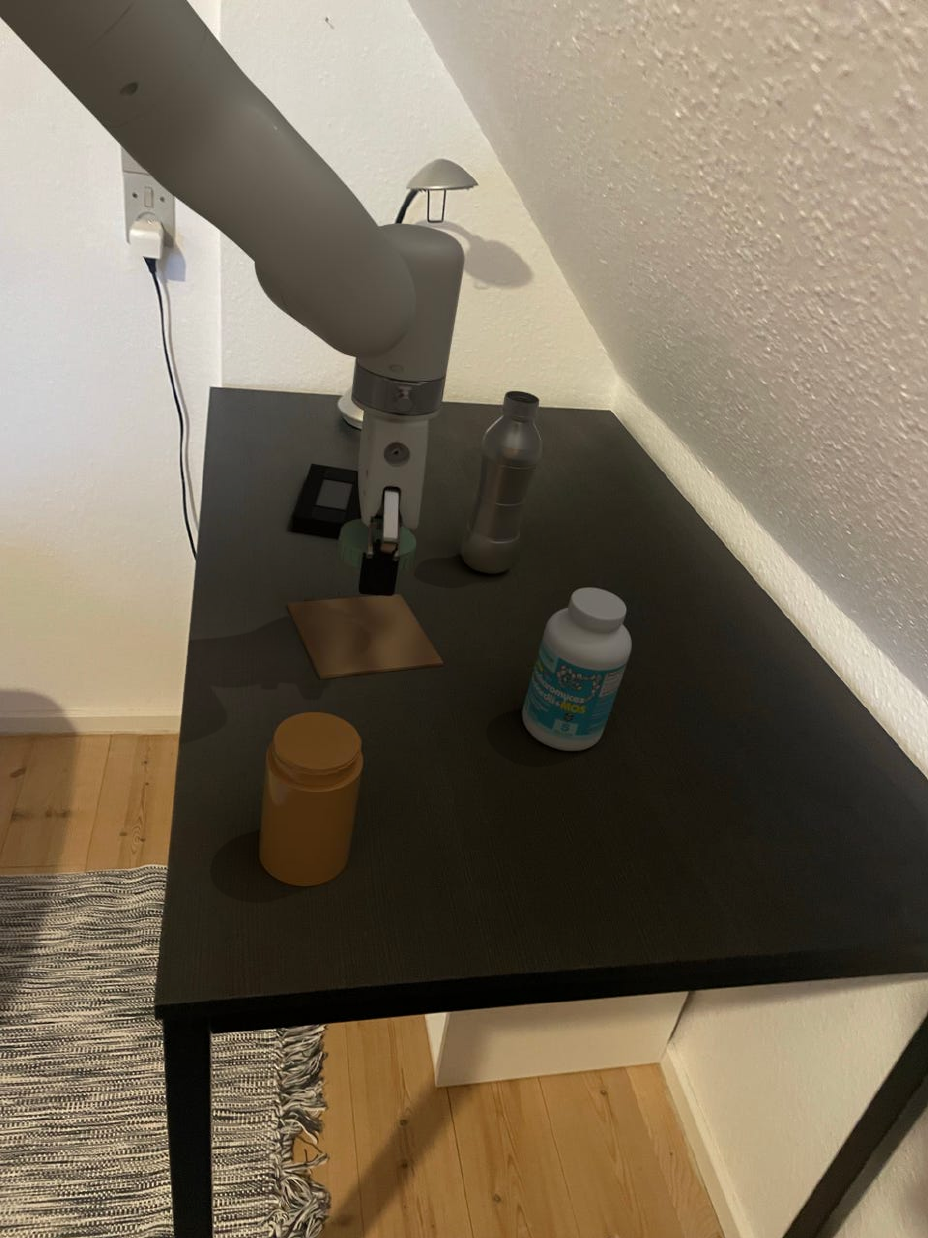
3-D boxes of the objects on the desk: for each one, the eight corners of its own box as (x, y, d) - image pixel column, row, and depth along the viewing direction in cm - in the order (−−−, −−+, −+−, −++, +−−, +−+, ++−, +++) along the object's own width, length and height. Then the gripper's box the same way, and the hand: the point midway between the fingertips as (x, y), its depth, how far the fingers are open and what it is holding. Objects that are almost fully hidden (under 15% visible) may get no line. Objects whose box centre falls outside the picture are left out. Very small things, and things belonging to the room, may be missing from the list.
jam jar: (260, 889, 64) (270, 774, 58) (256, 820, 69) (264, 708, 64) (354, 883, 66) (372, 771, 60) (343, 817, 71) (359, 707, 65)
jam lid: (416, 543, 90) (419, 525, 89) (410, 580, 84) (413, 562, 83) (343, 529, 89) (345, 512, 88) (332, 566, 83) (334, 547, 82)
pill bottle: (503, 721, 84) (536, 593, 77) (553, 691, 89) (588, 569, 82) (569, 767, 80) (610, 638, 73) (617, 733, 85) (659, 609, 78)
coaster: (319, 679, 84) (320, 675, 84) (286, 605, 93) (286, 602, 93) (442, 665, 89) (443, 662, 89) (400, 597, 98) (400, 593, 98)
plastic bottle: (445, 561, 106) (477, 391, 95) (482, 545, 111) (517, 381, 100) (489, 587, 103) (527, 414, 92) (525, 569, 108) (566, 403, 97)
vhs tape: (369, 487, 118) (371, 473, 117) (358, 542, 106) (360, 526, 105) (310, 478, 118) (311, 463, 117) (291, 531, 106) (292, 515, 105)
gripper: (456, 434, 72) (422, 627, 81) (431, 357, 86) (405, 529, 95) (357, 423, 70) (335, 621, 80) (348, 347, 84) (330, 522, 94)
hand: (373, 569), depth 87 cm, fingers closed on jam lid, 6 cm apart
